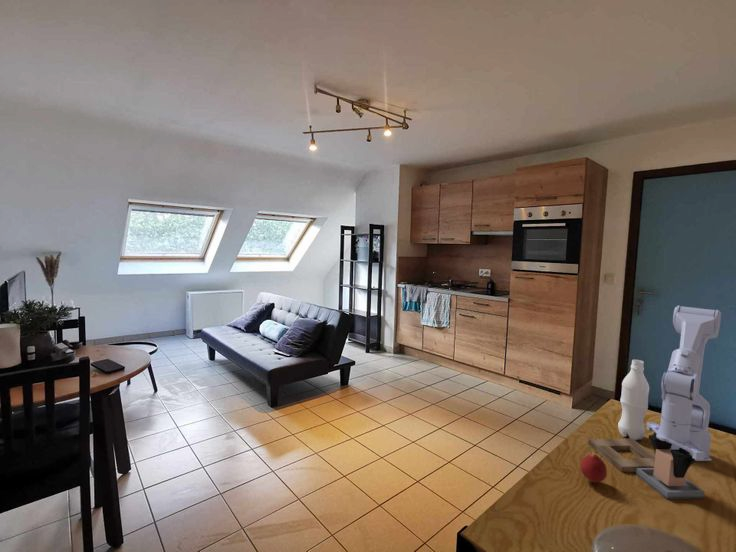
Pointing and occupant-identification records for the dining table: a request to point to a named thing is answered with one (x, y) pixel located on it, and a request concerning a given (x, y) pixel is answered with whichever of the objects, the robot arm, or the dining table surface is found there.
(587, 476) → the red pomegranate
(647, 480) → the tray
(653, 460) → the board
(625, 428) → the water bottle
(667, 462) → the block
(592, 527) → the dining table surface
